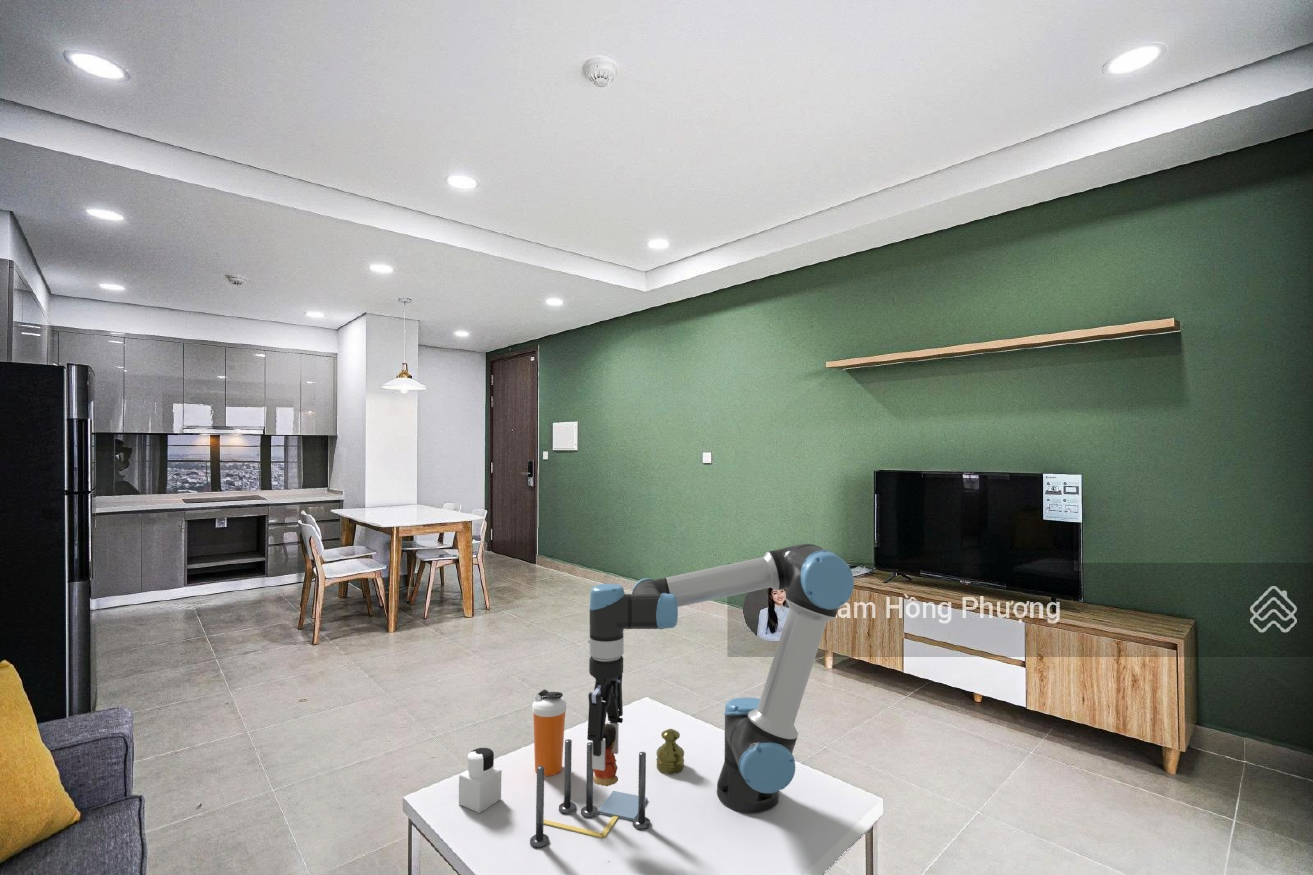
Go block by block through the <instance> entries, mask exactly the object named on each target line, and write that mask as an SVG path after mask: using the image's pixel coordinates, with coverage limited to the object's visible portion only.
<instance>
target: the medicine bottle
mask: <svg viewBox="0 0 1313 875" xmlns="http://www.w3.org/2000/svg"><path fill="white" fill-rule="evenodd" d="M494 754H495V753H494V750H492V749H491V748H488V747H478V748H475V749H473V750H471V751H470V752H469V753H468V754H467V770H465V771H464V772H461V773H460V774H459V777H458V781H459V782H458V804H459V805H460V806H463V807H465V808H466V809H468V810H471V811H473V812H476V813H478V814H481V812H484V811H485V810H486V809H488V808H490V807H491V806H493V805H494V804H495V803H497V802H499V801H500V800H501V799H502V769H499V768H497V767H494V766H495V765H494V762H495V761H494V760H495V758H494V756H495V755H494Z"/></svg>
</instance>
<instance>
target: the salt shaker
mask: <svg viewBox="0 0 1313 875" xmlns="http://www.w3.org/2000/svg"><path fill="white" fill-rule="evenodd" d="M660 735H661V736H660V737H661V738H662V740H663V739H664V741H665V742H664V743H663V744H662V745H660V746H659V747H658V748H657V749H656V756H657V757H656V769H657V771H659V772H661V773H662V774H666V775H676V774H679V773H681V772H682V771H684V768H685V757H684V756H685V750H684V749H683V748H682V747H681V746H680V745H679V744H678V743H676V741H677V740H678V739H679V738H680V737H681V734H680V732H679V731H677V730H675V729H674V728H668V729H665V730H663V731H662V732H661V734H660Z"/></svg>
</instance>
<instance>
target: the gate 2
mask: <svg viewBox="0 0 1313 875" xmlns="http://www.w3.org/2000/svg"><path fill="white" fill-rule="evenodd" d="M646 763H647V753H646V752H645V751H640V752H638V792H637V793H638V795H637V796H638V816H637V818H635V819H634V820H633V821H632V827H633V828H634V829H635V830H639V831H645V830H647V829H649V828H650V827H651V820H650V818H648V817H647V816H646V803H645V797H646V791H647V790H646V779H647V778H646V777H647V776H646V774H647V770H646V768H647V764H646ZM593 777H594V771H593V769H592V741H590V742H587V743H586V784H585V785H586V791H585V792H586V796H585V806H582V808H581V809H580V815H581V817H583V818H586V819H591V818H595V817H597V815H598V814H599V813H598V810H599V808H598V807H597V806H595V805H594V781H593Z"/></svg>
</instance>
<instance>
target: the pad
mask: <svg viewBox="0 0 1313 875" xmlns="http://www.w3.org/2000/svg"><path fill="white" fill-rule="evenodd" d="M647 801H648V797H646V796H645V804H646V803H647ZM598 814H599V815H604V816H609V817H611V818H612V817H613V816H618V819H622V820H626V821H631V822H633V820H634V819H635V818H637V817H638V795H636V794H631V793H625V792H621V791H617V790H612V791H611V793H610V794H609V796H608V797H607V798H606V799H605V801H604V802H603V804H601V806H600V808H598Z"/></svg>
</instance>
